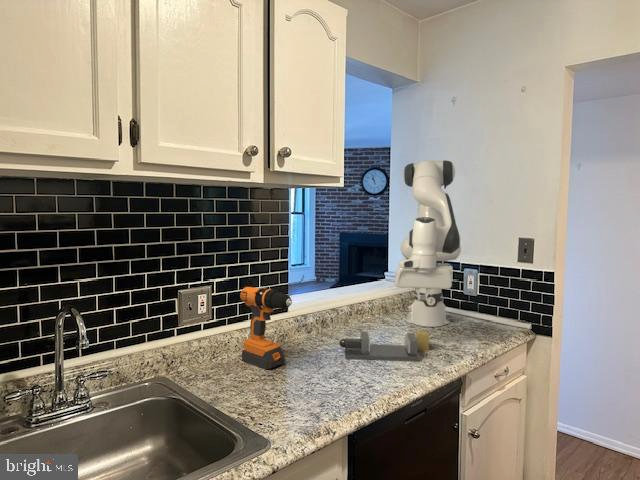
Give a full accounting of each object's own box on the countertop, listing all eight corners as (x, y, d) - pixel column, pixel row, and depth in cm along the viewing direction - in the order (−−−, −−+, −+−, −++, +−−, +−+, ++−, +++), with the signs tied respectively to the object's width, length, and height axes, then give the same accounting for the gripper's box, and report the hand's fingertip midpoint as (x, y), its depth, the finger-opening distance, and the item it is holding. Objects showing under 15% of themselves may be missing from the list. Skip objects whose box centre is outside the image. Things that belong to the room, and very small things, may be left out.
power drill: (300, 370, 139) (301, 291, 137) (283, 376, 133) (284, 295, 131) (253, 354, 153) (254, 282, 151) (237, 359, 147) (237, 285, 145)
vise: (344, 347, 162) (345, 330, 161) (413, 349, 160) (414, 332, 160) (344, 358, 150) (345, 340, 149) (419, 361, 148) (420, 342, 148)
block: (414, 346, 165) (414, 330, 164) (426, 346, 164) (426, 331, 164) (415, 350, 160) (416, 334, 160) (428, 350, 160) (429, 334, 159)
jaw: (339, 344, 160) (339, 330, 160) (368, 345, 160) (368, 331, 159) (339, 352, 151) (339, 338, 151) (369, 353, 151) (370, 339, 150)
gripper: (450, 262, 162) (449, 299, 163) (394, 260, 163) (393, 297, 164) (455, 264, 156) (453, 302, 157) (396, 262, 157) (395, 301, 158)
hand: (422, 300), depth 161 cm, fingers closed
